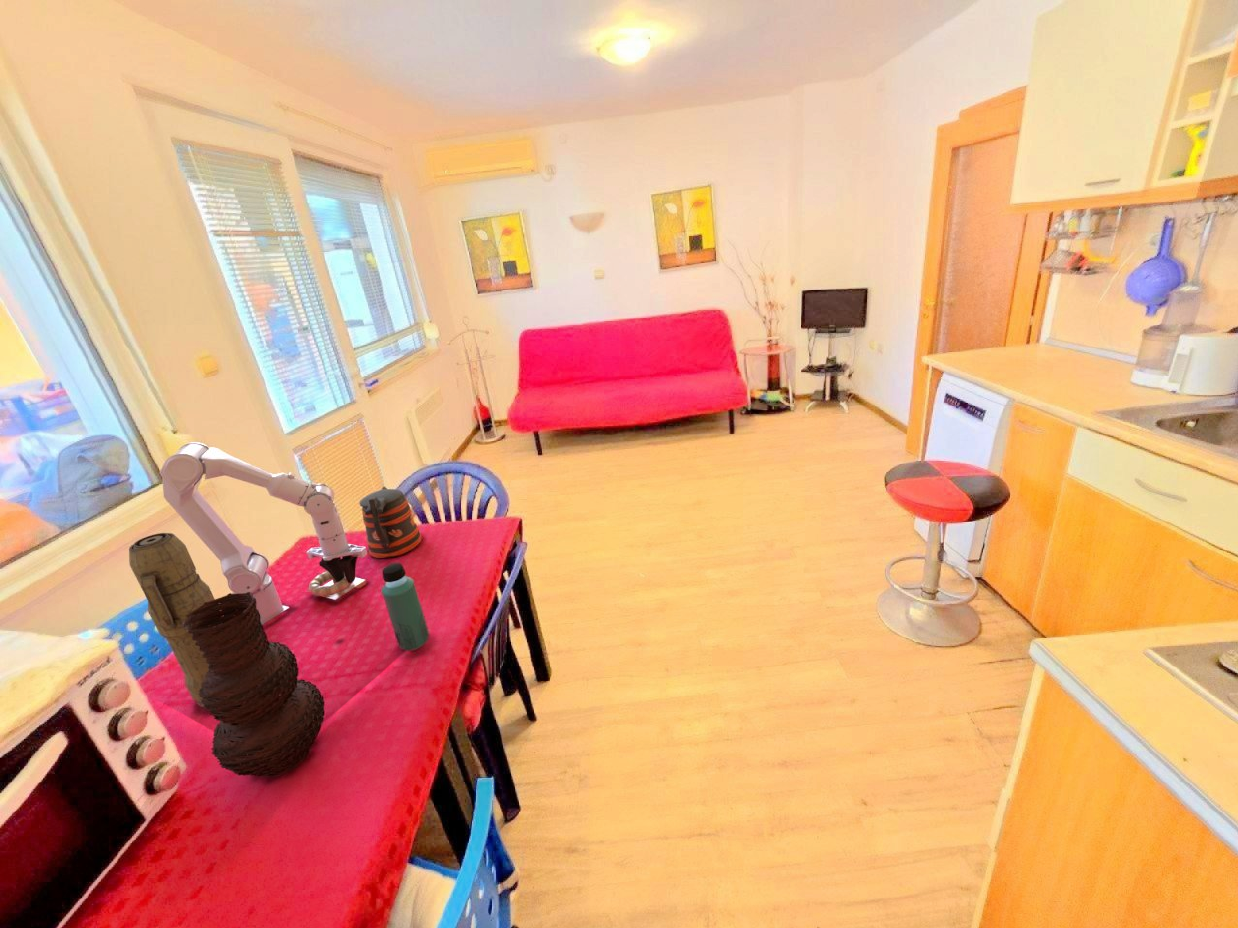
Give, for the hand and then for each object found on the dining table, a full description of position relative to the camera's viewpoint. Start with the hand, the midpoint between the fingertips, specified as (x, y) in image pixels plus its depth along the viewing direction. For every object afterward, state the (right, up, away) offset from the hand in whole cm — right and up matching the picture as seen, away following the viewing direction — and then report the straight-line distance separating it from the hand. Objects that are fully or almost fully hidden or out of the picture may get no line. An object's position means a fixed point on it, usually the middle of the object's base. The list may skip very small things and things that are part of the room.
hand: (346, 580), depth 127 cm
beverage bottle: (+25, -10, -19) cm, 33 cm away
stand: (-3, -3, +3) cm, 5 cm away
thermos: (-9, -16, -28) cm, 33 cm away
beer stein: (+3, +4, +21) cm, 21 cm away
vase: (+13, -20, -42) cm, 48 cm away
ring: (-4, 0, +1) cm, 4 cm away
